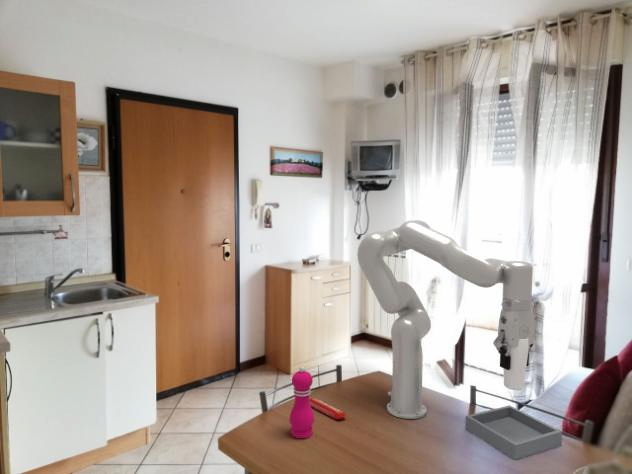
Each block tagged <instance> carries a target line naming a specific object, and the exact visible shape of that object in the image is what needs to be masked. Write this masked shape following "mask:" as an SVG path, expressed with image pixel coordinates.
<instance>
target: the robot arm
mask: <svg viewBox="0 0 632 474" xmlns="http://www.w3.org/2000/svg"><path fill="white" fill-rule="evenodd" d="M409 250H413V252H416V253H418V254H420V255H422V256H425V257H427V258H429V259H431V260H433V261H434V262H436V263H438V264H439V265H441V266H442V267H443V268H445V269H446V270H448V271H449V272H451V274H453V275H455V276H457V277H459V278H460V279H463V280H465V281H467V282H469V283H470V284H473V285H475V286H476V287H477V286H478V287H480V288H486V289H487V288H491V287H493V286H496V285H497V284H502V302H501V310H500V313H499V320H498V327H497V329H498V330H497V337H495V339H494V340H493V342H492V344H493V346H494V347H495V349H496V350H497V351H498V354H499V367H500V368H504V369H506V370H510V364H511V356H509V354H510V351H511V347H518V344H519V339H526V338H529V348H528V358H527V365H526V367H529V366H530V353H531V351H532V348H533V346H534V343H535V341H536V340H537V336H536V335H535V334H536V330H535V329H536V326H535V317H534V311H533V309H532V295H533V274H534V273H533V272H534V271H533V270H534V268H533V265H532V264H531V263H530V262H527V261H521V260H520V261H518V260H517V261H516V260H510V261H507V260H503V259H502V260H501V259H497V258H486V259H483V258H481V257H478V256H477V255H474V254H472V253H470V252H469V251H466V250H465V249H463V248H462V246H461V247H460V246H459V244H457V242H456V241H455V240H454V239H453V238H452V237H451V236H448V235H446V234H444V233H441V232H439V231H437V230H435V229H432V228H431V227H430V225H429V224H428V223H427V222H425V221H423V220H419V219H418V220H407V221H404V222H403V223H402V224H401V225H400V226H398V227H395V228H391V229H389V230H385V231H383V230H382V231H373V232H371V233H368V234H366V236H364V237H363V239H362V240H361V241H360V243H359V245H358V248H357V253H356V255H357V261H358V264H359V267H360V269H361V271H362V273H363V275H364V276H365V278H366V280H367V283H368V284H369V286H370V288H371V290H372V292H373V294H374V296H375V298H376V300H377V301H378V304H379V305H380V307H381V309H382V310H383V311H384V312H385V313H388V314H392V315H394V314H397V315H398V317H397V318H396V319H395V320H394V322H393V323H392V326H391V329H390V336H391V337H390V338H391V346H392V347H391V348H392V378H391V379H392V380H391V382H392V385H391V388H392V389H391V391H388V392H387V395H388V397H390V401H389V402H388V403H387V405H386V410H387V412H388V413H389V414H390V415H392V416H394V417H397V418H399V419H405V420H416V419H417V420H418V419H421V418H423V417H425V416H426V414H427V407H426V406H425V405H424V404H423V401H422V399H423V367H424V366H423V365H424V364H423V362H424V361H423V360H424V359H423V357H424V356H423V347H422V339H423V338H425V336H426V335H428V334H429V332H430V330H431V327H432V321H431V318H430V316H429V313H428V312H427V310H426V308H425V306H424V304H423V302H422V300H421V299H420V297H419V295H418V294H417V292H416V290H415V288H413V287H412V285H410V284H409V283H407V282H405V281H398V280H397V279H396V277H395V275H394V273H393V271H392V269H391V268H390V267H389V265H388V264H387V263H386V261H385V260H384V257H387V256H392V255H396V254H398V253H402V252H405V251H409ZM504 340H505V341H506V343H507V344H506V343H504ZM504 346H507V348H506V350H505V349H504ZM504 369H503V370H504Z"/></svg>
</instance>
